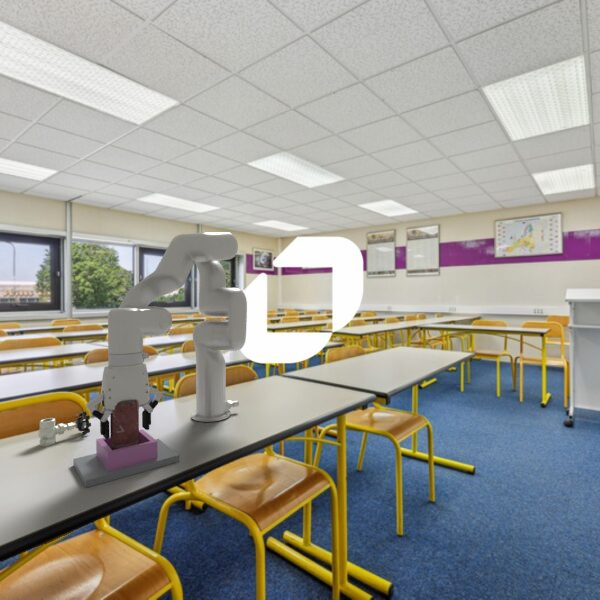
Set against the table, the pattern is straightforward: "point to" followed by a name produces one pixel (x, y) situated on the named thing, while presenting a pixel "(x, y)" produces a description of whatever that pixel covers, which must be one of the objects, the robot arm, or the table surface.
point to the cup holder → (123, 459)
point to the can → (125, 425)
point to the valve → (61, 428)
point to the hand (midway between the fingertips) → (126, 432)
